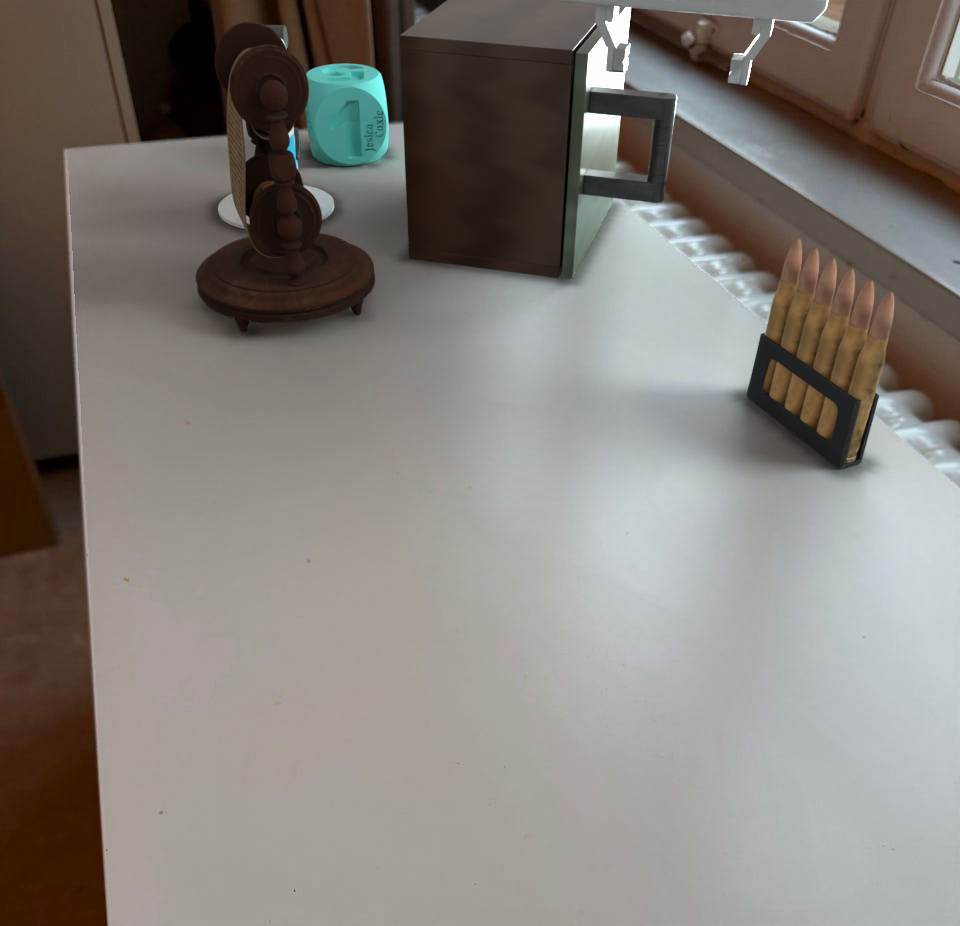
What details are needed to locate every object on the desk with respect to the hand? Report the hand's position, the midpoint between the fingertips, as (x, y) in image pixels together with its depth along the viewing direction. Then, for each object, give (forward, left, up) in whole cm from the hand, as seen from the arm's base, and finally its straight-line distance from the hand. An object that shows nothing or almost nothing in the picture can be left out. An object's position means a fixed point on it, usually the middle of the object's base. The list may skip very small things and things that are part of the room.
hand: (676, 76), depth 80 cm
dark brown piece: (+32, 0, -16) cm, 36 cm away
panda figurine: (+33, -20, -16) cm, 42 cm away
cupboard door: (+1, -8, -16) cm, 18 cm away
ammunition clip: (-4, +25, -16) cm, 30 cm away
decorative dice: (+25, -35, -16) cm, 46 cm away
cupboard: (+11, -12, -16) cm, 23 cm away
